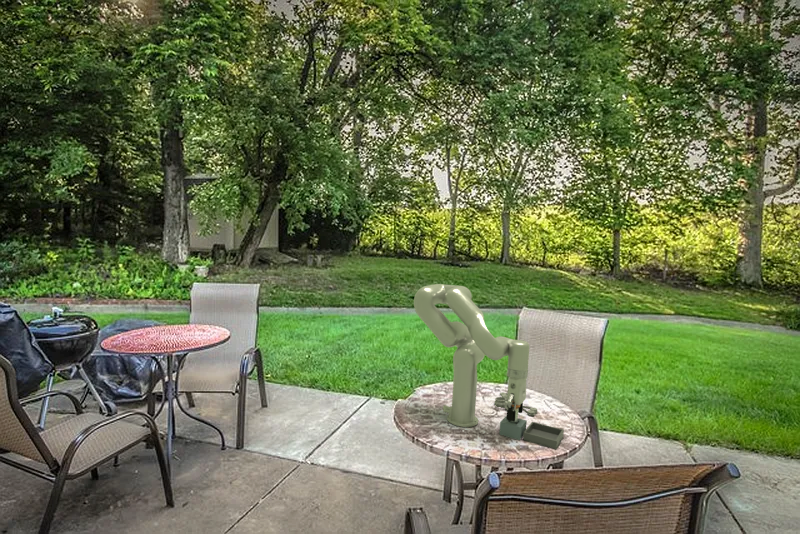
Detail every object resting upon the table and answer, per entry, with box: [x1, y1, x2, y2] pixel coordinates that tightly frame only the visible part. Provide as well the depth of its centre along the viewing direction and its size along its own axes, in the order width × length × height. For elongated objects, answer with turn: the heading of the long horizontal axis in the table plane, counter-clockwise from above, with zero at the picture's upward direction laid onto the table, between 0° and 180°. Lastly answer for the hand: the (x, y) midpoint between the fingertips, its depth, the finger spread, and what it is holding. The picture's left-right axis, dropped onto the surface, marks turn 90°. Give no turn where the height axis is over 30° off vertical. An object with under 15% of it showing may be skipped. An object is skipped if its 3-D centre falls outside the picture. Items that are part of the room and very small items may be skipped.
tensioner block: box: [498, 414, 528, 441], centre depth 179 cm, size 8×8×5 cm
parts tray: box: [522, 421, 565, 450], centre depth 176 cm, size 12×12×3 cm
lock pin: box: [510, 401, 520, 424], centre depth 179 cm, size 4×4×12 cm
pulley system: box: [493, 391, 538, 417], centre depth 209 cm, size 27×5×15 cm
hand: (514, 416), depth 179 cm, fingers open, 9 cm apart
